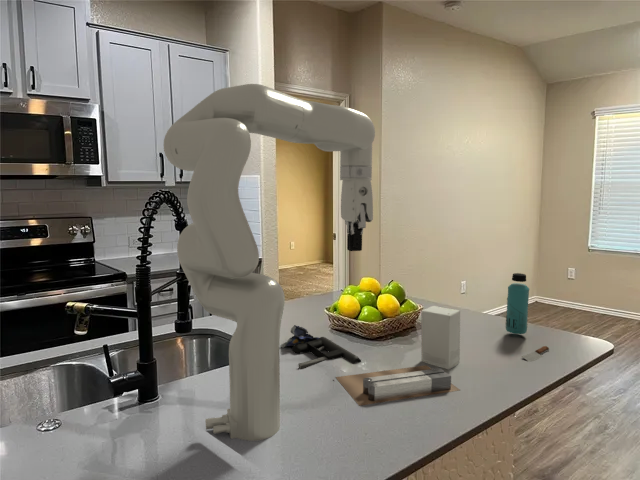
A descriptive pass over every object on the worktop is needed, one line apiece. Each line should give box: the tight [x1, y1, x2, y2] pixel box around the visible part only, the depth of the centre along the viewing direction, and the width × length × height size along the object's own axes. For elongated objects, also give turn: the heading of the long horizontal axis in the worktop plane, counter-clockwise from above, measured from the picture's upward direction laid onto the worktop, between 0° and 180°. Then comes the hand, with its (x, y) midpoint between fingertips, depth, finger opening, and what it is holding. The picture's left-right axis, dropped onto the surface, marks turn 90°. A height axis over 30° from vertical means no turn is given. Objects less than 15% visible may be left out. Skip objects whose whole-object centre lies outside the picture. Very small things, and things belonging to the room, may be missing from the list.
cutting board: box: [335, 364, 461, 407], centre depth 111 cm, size 25×15×2 cm, turn 108°
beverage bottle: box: [504, 272, 530, 335], centre depth 148 cm, size 6×7×20 cm
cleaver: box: [521, 345, 550, 363], centre depth 132 cm, size 13×2×5 cm
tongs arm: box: [363, 367, 446, 394], centre depth 108 cm, size 20×2×3 cm, turn 107°
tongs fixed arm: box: [368, 371, 452, 401], centre depth 105 cm, size 20×2×3 cm, turn 108°
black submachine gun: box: [291, 336, 362, 370], centre depth 129 cm, size 3×20×16 cm
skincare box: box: [420, 305, 461, 370], centre depth 123 cm, size 8×7×16 cm
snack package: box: [280, 324, 320, 349], centre depth 141 cm, size 12×6×12 cm
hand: (354, 250), depth 114 cm, fingers closed
